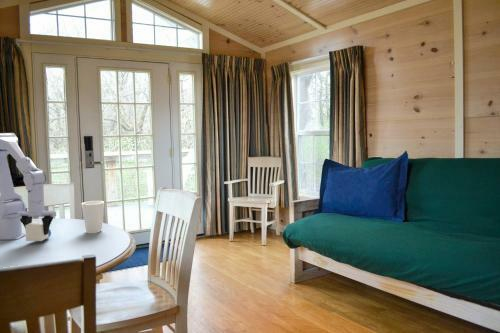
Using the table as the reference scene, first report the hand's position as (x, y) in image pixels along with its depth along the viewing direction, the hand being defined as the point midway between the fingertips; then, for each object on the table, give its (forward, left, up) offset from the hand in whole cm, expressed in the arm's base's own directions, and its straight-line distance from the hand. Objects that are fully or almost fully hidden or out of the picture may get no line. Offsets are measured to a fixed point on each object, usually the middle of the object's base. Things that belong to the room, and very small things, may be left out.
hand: (37, 234), depth 166 cm
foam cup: (+16, +17, -4) cm, 24 cm away
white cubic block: (0, 0, -2) cm, 2 cm away
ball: (0, +5, -1) cm, 5 cm away
